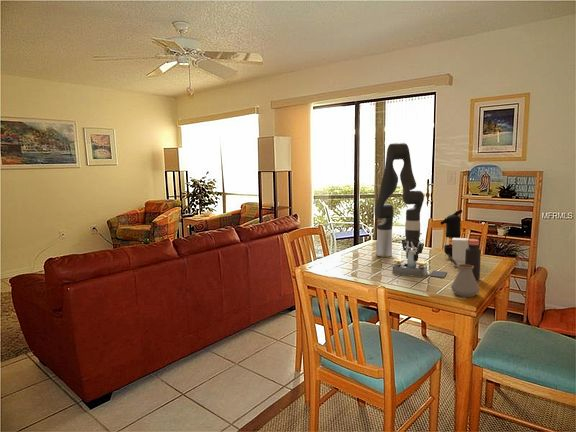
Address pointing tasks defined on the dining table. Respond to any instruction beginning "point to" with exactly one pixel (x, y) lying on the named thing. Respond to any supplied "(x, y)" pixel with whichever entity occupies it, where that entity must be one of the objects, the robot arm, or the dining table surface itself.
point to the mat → (438, 274)
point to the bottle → (473, 257)
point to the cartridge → (411, 259)
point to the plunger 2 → (421, 263)
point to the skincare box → (459, 250)
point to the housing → (409, 270)
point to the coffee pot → (464, 280)
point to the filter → (452, 229)
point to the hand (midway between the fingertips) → (412, 259)
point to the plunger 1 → (398, 261)
